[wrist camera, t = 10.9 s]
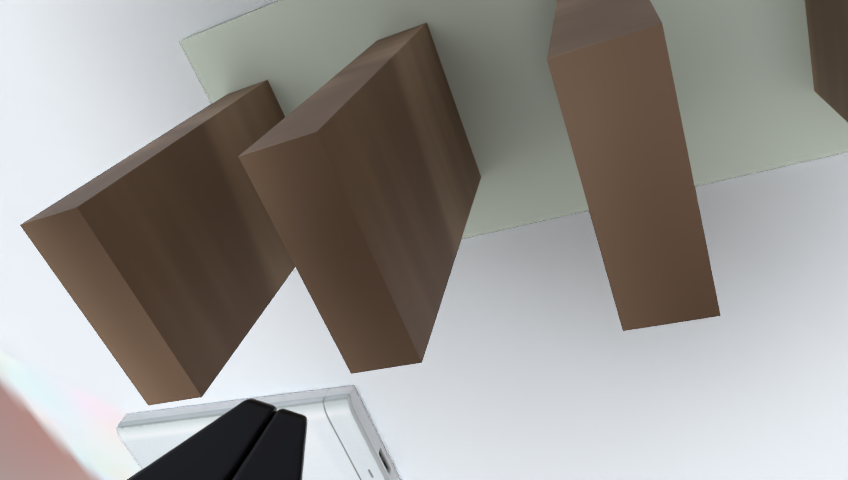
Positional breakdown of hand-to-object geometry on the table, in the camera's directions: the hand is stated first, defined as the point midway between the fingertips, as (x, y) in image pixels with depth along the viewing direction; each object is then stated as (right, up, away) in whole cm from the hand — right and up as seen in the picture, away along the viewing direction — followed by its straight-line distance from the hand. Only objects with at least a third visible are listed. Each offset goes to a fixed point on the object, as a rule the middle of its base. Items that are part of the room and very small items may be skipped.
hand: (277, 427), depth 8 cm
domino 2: (+2, +6, +11) cm, 13 cm away
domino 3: (+7, +8, +9) cm, 14 cm away
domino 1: (-3, +5, +13) cm, 14 cm away
